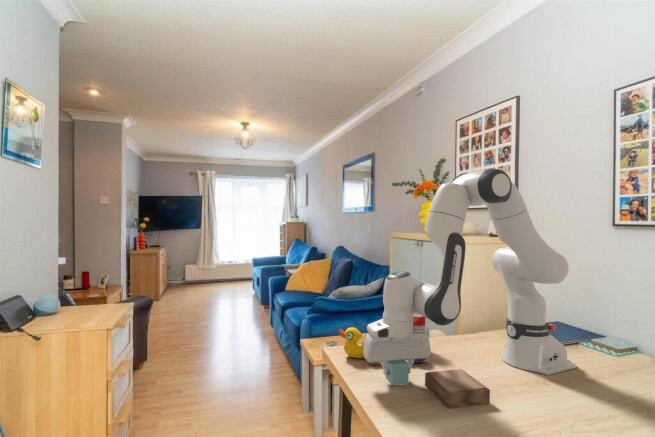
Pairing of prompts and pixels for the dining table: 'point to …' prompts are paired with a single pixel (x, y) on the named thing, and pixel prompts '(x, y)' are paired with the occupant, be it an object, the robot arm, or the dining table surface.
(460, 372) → the walnut base
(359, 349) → the duckling
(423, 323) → the paper cup
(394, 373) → the teal block
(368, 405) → the dining table surface
